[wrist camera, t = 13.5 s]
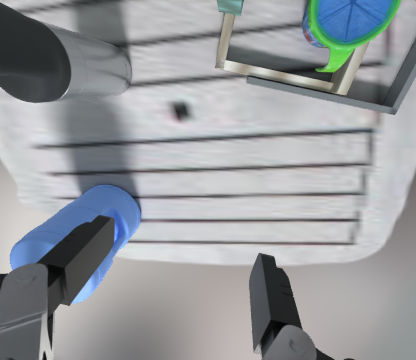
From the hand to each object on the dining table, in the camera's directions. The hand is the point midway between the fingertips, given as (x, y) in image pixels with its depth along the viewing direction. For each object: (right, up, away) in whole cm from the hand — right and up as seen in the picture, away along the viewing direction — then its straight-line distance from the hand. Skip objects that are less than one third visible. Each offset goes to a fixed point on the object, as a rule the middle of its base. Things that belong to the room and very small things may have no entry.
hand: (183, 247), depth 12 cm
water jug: (-23, -4, +45) cm, 51 cm away
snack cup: (+21, +30, +24) cm, 44 cm away
